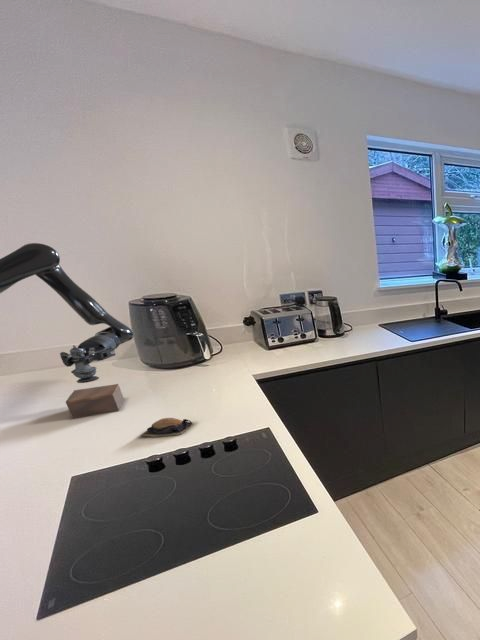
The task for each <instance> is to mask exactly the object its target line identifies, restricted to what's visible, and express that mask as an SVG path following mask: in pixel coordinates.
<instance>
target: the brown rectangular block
mask: <svg viewBox="0 0 480 640" xmlns="http://www.w3.org/2000/svg"><path fill="white" fill-rule="evenodd" d="M124 400H125V398H124V396H123V392H122V390H121V388H120V385H119V383H115V384H107V385H101V386H95V387H88V388H80V389H74V390H73V391H72V393H71V394H70V395H69V396H68V398H67V399H66V401H65V404H66V407H67V409H68V411H69V413H70V416H71V418H72V419H74V420H75V419H79V418H85V417H90V416H91V417H92V416H96V415H102V414H108V413H113V412H114V413H115V412H119V411H120V409H121V407H122V404H123V402H124Z"/></svg>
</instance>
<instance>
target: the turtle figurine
mask: <svg viewBox="0 0 480 640" xmlns="http://www.w3.org/2000/svg"><path fill="white" fill-rule="evenodd" d="M193 425H194V422H192V421H191V420H189V419H188V418H187V419H186V418H184V419H179V418H175V417H164V418H160V419H159V420H156V421H155V422H153V423H152V424H151V426H149V427H147V429H146V430H145V431H144V432H143V433H142V434H141V437H146V438H147V437H148V438H149V437H169V436H180V435H182V434H184V433H186V432H187V431H188V429H191V427H192V426H193Z"/></svg>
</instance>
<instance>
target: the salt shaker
mask: <svg viewBox="0 0 480 640" xmlns="http://www.w3.org/2000/svg"><path fill="white" fill-rule="evenodd" d="M69 354H71V356H72V358H73V359H72V361H74V364H73V365H74V367H75V368H74V369H73V370H71V371H70V373H71V374H73V376H74V377H76V378H78V380H76V383H77V384H87V383H91V382H95V381H98V380H99V379H100V377H99V376H96V374H97V367H96V366H91V365H90V364H88V365H84V363H83V360H82V358H84V357H85V356H84V353H83V351H82V349H81V348H78V346H76V345H74V344H73V345H72V348H71V349H69Z"/></svg>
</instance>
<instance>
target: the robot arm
mask: <svg viewBox="0 0 480 640" xmlns="http://www.w3.org/2000/svg"><path fill="white" fill-rule="evenodd" d="M60 262H61V256H60V255H59V252H57V250H56V249H55V248H53V247H52V246H50V245H47V244H44V243H39V242H29V243H26V244H24V245H22V246H20V247H19V248H17V249H15V250H14V251H12V252H11V253H8V254H7V255H5V256H3V257H1V258H0V294H3V293H4V292H5V291H7V290H8V289H9V288H11V287H12V286H14V285H16V284H17V283H18V282H21V281H23V280H26V279H27V278H30V277H33V276H36V277H37V278H39V280H41V281H43V283H45V284H46V285H48V286H49V288H51V289H52V290H53V291H54V292H55V293H56V294H57V295H59V296H60V297H61V298H62V299H63V301H65V303H66V304H67V305H68V306H69V307H70V308H71V309H72V310H73V311H74V312H75V313H76V314H77V315H78V316H79V317H80V318H81V319H82V320H83V321H84V322H85V323H87V325H89V326H97V325H103V324H104V325H107V326H108V327H106V328H103V329H102V330H99V331H98V332H96V333H94V335H93V336H90V337H89V338H87V339H85V340H84V341H82V342H81V343H79V344H78V346H77V348H81V349H82V351H83V353H84V356H85V357H84V358H82V360H83V363H84V365H88V364H89V365H90V364H91V363H94V362H101V361H104V360H107V359H110V358H112V357H115V356H116V351H115V350H116V349H117V348H119V347H120V345H122V344H125V343H127V342H129V341H131V340H133V339H134V337H135V335H134V331H133V330H132V329H131V328H130V327H129V326H128V325H127V324H125V323H124V322H121V321H120V320H118V319H117V318H116V317H114V316H113V315H111V314H110V313H109V312H108V311H107V310H106V309H105V308H104V307H103V306H102V305H101V304H100V303H99V302H98V301H97V300H96V299H95V298H93V296H91V294H90V293H88V292H86V290H84V289H82V287H80V286H79V285H78V284H77V283H76V282H75V281H74V280H73V279H72V278H71V277H70V276H69V275H68V274H67V273H66V272H65V270H64V269H63V267H62V266H61V264H60ZM59 355H60V359H61V361H62V363H63V365H64V366H65V367H68V368H69V367H71V366H73V365H75V364H74V361H72V359H73V358H72V356H71V353H68V352H66V351H61V352H60V353H59Z"/></svg>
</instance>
